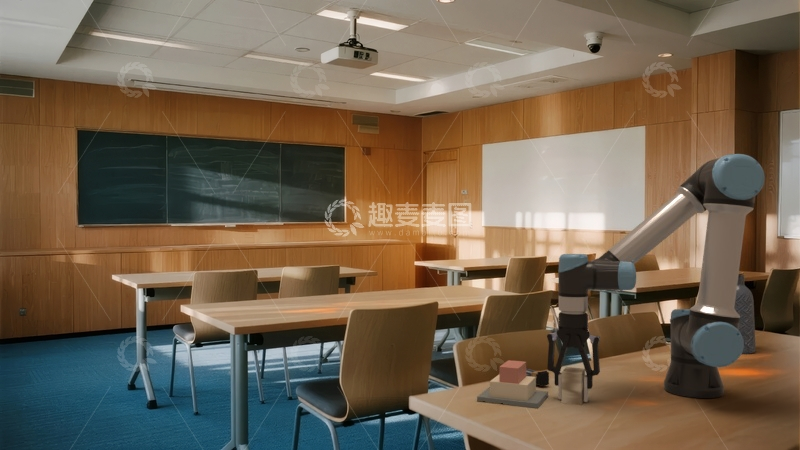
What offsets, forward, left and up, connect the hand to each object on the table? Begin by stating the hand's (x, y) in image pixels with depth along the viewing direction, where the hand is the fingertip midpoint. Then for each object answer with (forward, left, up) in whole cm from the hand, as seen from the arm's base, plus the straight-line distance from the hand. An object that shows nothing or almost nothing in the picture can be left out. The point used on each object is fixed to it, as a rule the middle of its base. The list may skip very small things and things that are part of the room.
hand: (573, 399), depth 168 cm
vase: (-44, -94, 0) cm, 104 cm away
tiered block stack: (+15, +5, 0) cm, 16 cm away
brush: (+16, -14, -1) cm, 21 cm away
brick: (0, 0, 0) cm, 0 cm away
